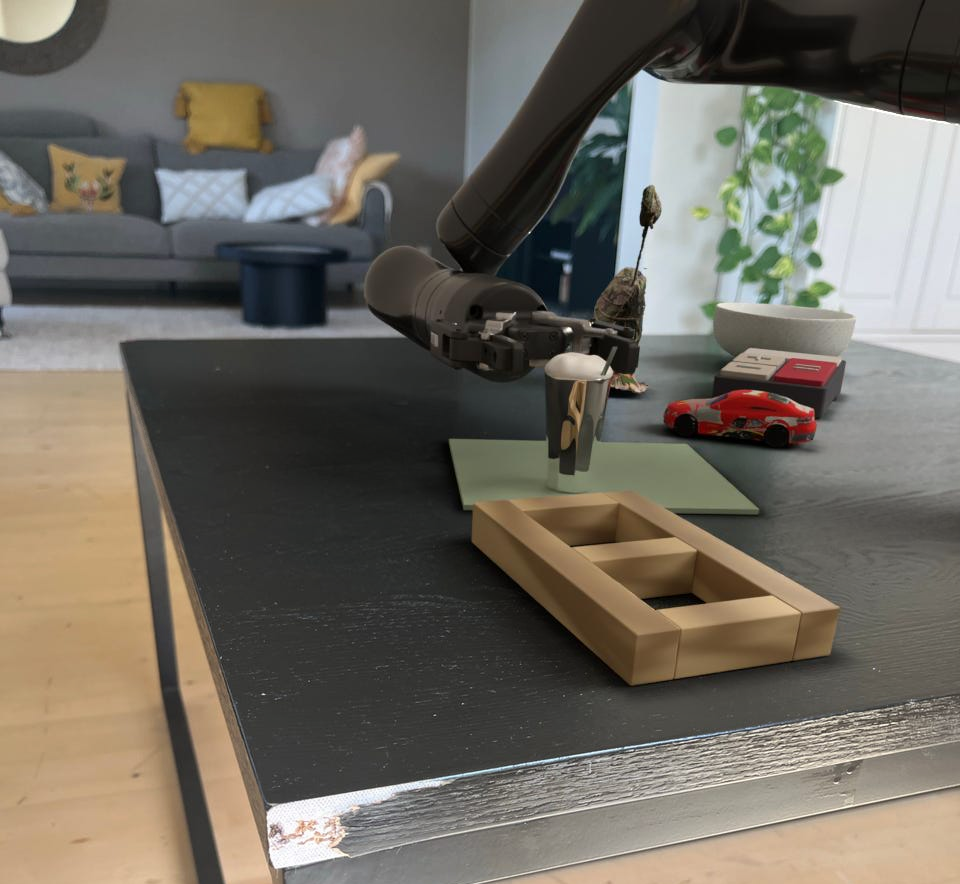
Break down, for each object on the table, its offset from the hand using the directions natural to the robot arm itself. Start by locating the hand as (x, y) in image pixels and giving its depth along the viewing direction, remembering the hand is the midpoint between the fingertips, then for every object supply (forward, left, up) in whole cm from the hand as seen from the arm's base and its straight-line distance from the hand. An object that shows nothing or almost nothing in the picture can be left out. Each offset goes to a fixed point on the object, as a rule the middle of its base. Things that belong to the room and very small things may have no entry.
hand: (577, 360), depth 66 cm
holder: (0, +18, -9) cm, 21 cm away
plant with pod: (-11, -40, -9) cm, 42 cm away
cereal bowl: (-35, -56, -9) cm, 67 cm away
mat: (-2, -5, -9) cm, 10 cm away
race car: (-18, -18, -9) cm, 27 cm away
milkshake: (0, 0, -9) cm, 9 cm away
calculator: (-28, -36, -9) cm, 46 cm away
